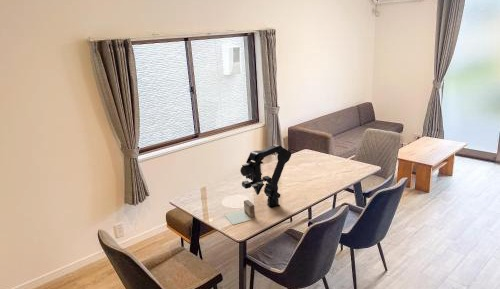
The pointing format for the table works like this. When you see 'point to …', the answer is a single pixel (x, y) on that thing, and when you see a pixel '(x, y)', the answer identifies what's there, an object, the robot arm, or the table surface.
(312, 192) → the table surface
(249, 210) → the grey brown stone slab
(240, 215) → the mat
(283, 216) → the table surface
